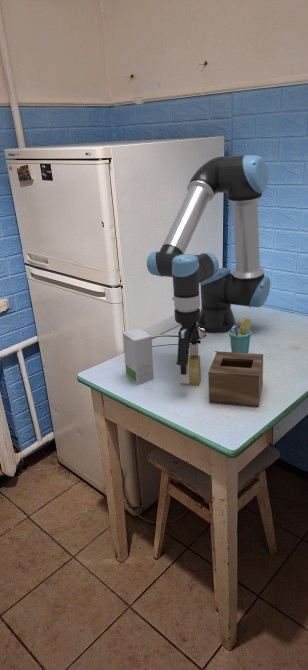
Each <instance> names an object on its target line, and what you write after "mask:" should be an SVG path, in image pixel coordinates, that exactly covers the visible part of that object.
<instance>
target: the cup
mask: <svg viewBox="0 0 308 670" xmlns="http://www.w3.org/2000/svg"><path fill="white" fill-rule="evenodd" d="M251 326H252V324H251V320H250V318H243V319H242V321H241V322H240V327H238V326H237V325H236V324H235V325H233V327H232V328H231V330H229V331H228V337H229V338H230V349H231V350H230V351H231V352H236V353H249V352H250V342H251V337H252V331H251Z"/></svg>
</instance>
